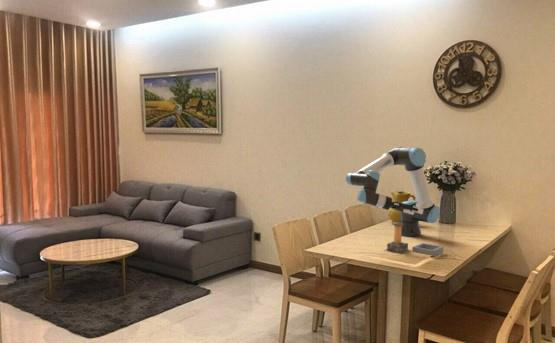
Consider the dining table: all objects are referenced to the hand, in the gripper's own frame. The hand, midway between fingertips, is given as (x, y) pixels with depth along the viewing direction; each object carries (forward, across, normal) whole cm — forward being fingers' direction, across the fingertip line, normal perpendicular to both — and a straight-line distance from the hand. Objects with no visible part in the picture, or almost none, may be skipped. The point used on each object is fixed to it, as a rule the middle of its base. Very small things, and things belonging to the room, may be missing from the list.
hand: (418, 212), depth 267 cm
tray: (+11, 0, -22) cm, 24 cm away
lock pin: (-6, -3, -24) cm, 25 cm away
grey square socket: (-5, -3, -26) cm, 26 cm away
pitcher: (+20, -85, -1) cm, 87 cm away
